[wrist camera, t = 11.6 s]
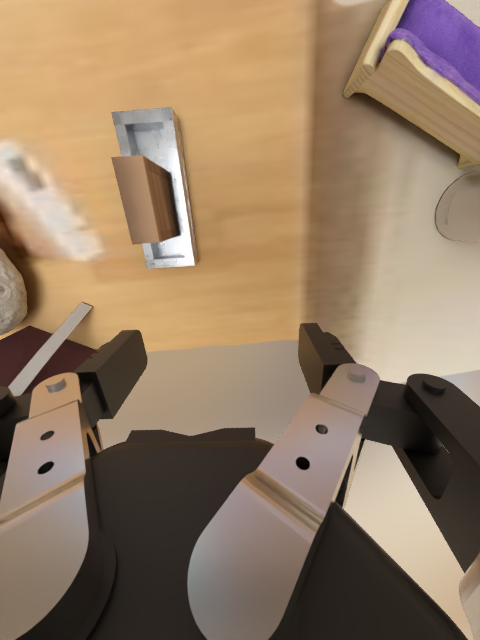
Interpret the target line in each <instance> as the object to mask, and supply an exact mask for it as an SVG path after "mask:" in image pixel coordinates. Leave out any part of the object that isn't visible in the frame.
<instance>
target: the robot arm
mask: <svg viewBox="0 0 480 640" xmlns="http://www.w3.org/2000/svg"><path fill="white" fill-rule="evenodd" d="M436 225H437V228H438V230H439V232H440V233H441V234H442V235H443V236H444V237H446V238H448V239H451V240H458V241H467V242H475V243H480V170H478V171H474V172H470V173H468V174H466V175H464V176H462V177H460V178H459V179H458V180H456V181H455V182H454V183H453V184H452V185H451V186H450V187H449V188H448V189H447V190H446V192H445V193H444V194H443V196H442V198H441V200H440V202H439V204H438V207H437V211H436ZM298 357H299V363H300V366H301V369H302V372H303V374H304V377H305V379H306V382H307V385H308V387H309V390H310V393H311V394H310V396H309V397H308V398H307V400H306V401H305V402H304V404H303V405H302V407H301V408H300V409H299V411H298V412H297V414H296V415H295V417H294V418H293V419H292V421H291V422H290V423H289V425H288V426H287V428H286V429H285V431H284V432H283V433H282V435H281V436H280V437H279V439H278V440H277V442H276V443H275V444H272V443H270V442H268V441H265V440H262V439H258V438H255V428H224V429H219V430H215V431H211V432H207V433H203V434H199V435H195V436H187V435H182V434H178V433H174V432H169V431H165V430H136V431H135V430H132V431H131V433H130V435H129V437H128V438H127V440H126V442H122V443H119V444H116V445H113V446H111V447H109V448H107V449H105V450H104V449H103V444H102V439H101V434H100V430H99V427H98V424H97V422H98V421H99V419H113V418H114V416H115V415H116V413H117V411H118V410H119V409H120V407H121V405H122V404H123V402H124V401H125V399H126V398H127V396H128V395H129V393H130V392H131V390H132V389H133V387H134V386H135V384H136V383H137V381H138V380H139V378H140V376H141V375H142V373H143V372H144V370H145V369H146V366H147V355H146V351H145V347H144V343H143V339H142V335H141V332H140V331H139V330H123V331H121V332H120V333H119V334H118V335H117V336H116V337H115V338H113V339H112V340H111V341H110V342H108V343H106V344H104V345H102V346H101V347H100V348H99V349H98V350H97V351H96V352H95V353H93V354H92V355H91V356H90V358H88V359H87V360H86V361H85V362H83V363H82V364H81V365H80V366H79V367H78V368H77V369H76V370H75V371H74V372H72V373H63V374H59V375H55V376H53V377H50V378H48V379H46V380H44V381H43V382H41V383H40V384H38V385H37V386H36V387H35V388H34V390H33V392H32V393H29V394H24V395H20V396H15V397H14V396H13V394H12V392H11V391H10V389H9V388H8V387H6V386H0V496H1V500H0V640H468V639H467V638H466V636H465V635H464V634H463V633H462V631H461V630H460V629H459V628H458V627H457V626H456V624H455V623H454V622H453V621H452V620H451V618H450V617H449V616H448V615H447V614H446V613H445V612H444V611H443V610H442V609H441V608H440V607H439V606H438V604H437V603H435V601H434V600H433V599H432V598H431V597H430V596H429V595H428V594H427V593H426V592H425V591H424V590H423V589H422V588H421V587H419V585H418V584H417V583H416V582H415V581H414V580H413V579H412V578H411V577H410V576H409V575H408V574H407V573H406V572H405V571H404V570H403V569H402V568H401V567H400V566H399V565H398V564H397V563H396V562H395V561H394V560H393V559H392V558H391V557H390V556H389V555H388V554H387V553H386V552H385V551H384V550H383V549H382V548H381V547H380V546H379V545H378V544H377V543H376V542H375V541H374V540H373V539H372V538H371V537H370V536H369V535H368V534H367V533H366V532H365V531H364V530H363V529H362V528H361V527H360V526H359V524H357V523H356V521H355V520H354V519H352V517H351V516H350V515H349V514H348V513H347V512H346V511H345V510H344V507H345V504H346V501H347V498H348V494H349V490H350V487H351V483H352V480H353V477H354V474H355V471H356V468H357V465H358V462H359V459H360V456H361V453H362V450H363V448H364V444H365V442H366V439H367V440H371V441H375V442H379V443H383V444H387V445H391V446H392V447H393V449H394V450H395V452H396V454H397V456H398V457H399V459H400V461H401V463H402V464H403V466H404V468H405V470H406V471H407V473H408V475H409V477H410V478H411V480H412V482H413V484H414V485H415V487H416V489H417V491H418V493H419V494H420V496H421V498H422V499H423V501H424V503H425V505H426V507H427V508H428V510H429V511H430V513H431V515H432V517H433V519H434V521H435V522H436V524H437V526H438V527H439V529H440V531H441V533H442V534H443V536H444V538H445V540H446V541H447V543H448V545H449V547H450V548H451V550H452V552H453V554H454V555H455V557H456V559H457V561H458V563H459V564H460V566H461V568H462V570H463V571H464V573H465V574H464V576H463V577H462V579H461V580H460V584H459V595H460V600H461V603H462V607H463V609H464V611H465V614H466V617H467V619H468V621H469V624H470V626H471V630H472V634H473V638H474V640H480V407H479V406H478V405H477V404H476V403H475V402H473V401H472V400H471V399H470V398H469V397H468V396H467V395H466V394H464V393H463V392H462V391H461V390H460V389H459V388H457V387H456V386H455V385H454V384H452V383H450V382H449V381H447V380H444V379H442V378H440V377H437V376H433V375H429V374H413V375H411V376H409V377H408V379H407V383H406V385H404V384H398V383H392V382H386V381H382V380H380V378H379V376H378V374H377V373H376V372H375V371H373V370H372V369H370V368H368V367H366V366H364V365H360V364H356V362H355V361H354V360H353V358H352V357H351V356H350V354H349V353H348V352H347V350H346V349H345V348H344V346H343V345H342V344H341V343H340V341H339V340H338V339H337V337H335V336H334V335H332V334H330V333H329V332H322V330H321V329H320V327H319V326H318V324H317V323H302V324H300V329H299V349H298ZM444 447H445V448H446V449H447V450H446V449H445V448H444ZM448 452H449V453H448Z"/></svg>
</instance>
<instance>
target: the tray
mask: <svg viewBox="0 0 480 640" xmlns="http://www.w3.org/2000/svg"><path fill="white" fill-rule="evenodd" d="M111 113H112V118H113V122H114V125H115V129H116V133H117V138H118V142H119V146H120V151H121V155H122V157H123V156H135V155H143V156H145V157H146V158H148V159H150V160H151V161H153V162H154V163H156V164H157V165H159V166H161V167H162V168H164V169H165V170H167V171H168V172H170V175H171V181H172V187H173V193H174V200H175V206H176V212H177V218H178V224H179V230H180V236H177V237H174V238H171V239H168V240H165V241H162V242H158V243H144V244H142V247H143V251H144V256H145V262H146V266H147V269H150V268H164V267H178V266H192V265H195V264H196V263H197V262H198V255H197V247H196V240H195V233H194V226H193V219H192V211H191V204H190V197H189V190H188V182H187V175H186V168H185V161H184V154H183V146H182V139H181V132H180V125H179V118H178V117H177V115H176V114H175V112H174V110H173V109H172V107H168V108H156V109H144V110H132V111H121V112H111Z"/></svg>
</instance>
